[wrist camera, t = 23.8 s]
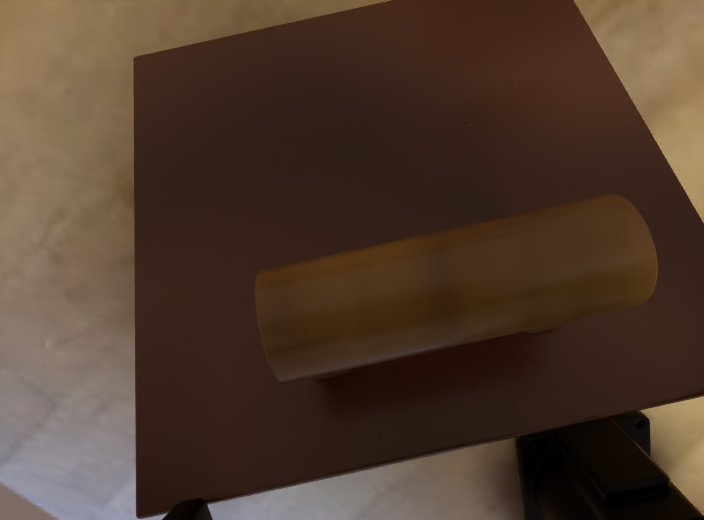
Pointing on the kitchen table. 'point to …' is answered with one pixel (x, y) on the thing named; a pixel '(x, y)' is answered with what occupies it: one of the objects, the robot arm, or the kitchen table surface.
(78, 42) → the kitchen table surface
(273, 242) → the lid
